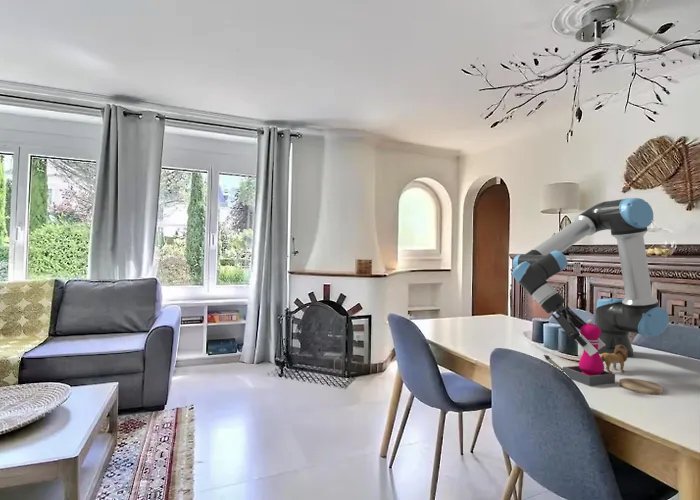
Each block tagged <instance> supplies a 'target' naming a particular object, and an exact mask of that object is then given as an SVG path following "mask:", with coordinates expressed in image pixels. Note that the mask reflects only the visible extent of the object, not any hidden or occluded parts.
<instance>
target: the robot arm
mask: <svg viewBox="0 0 700 500" xmlns="http://www.w3.org/2000/svg"><path fill="white" fill-rule="evenodd" d="M653 220H654V211H653V208H652V206H651V204H650V203H649V202H647V201H646V200H645V199H643V198H641V197H640V198H639V197H628V198H623V199H615V200H607V201H602V202H599V203H597V204H595V205H594V206H591V207H589V208H588V209H587V210H585V211H583V212H581V213H580V214H578V215H577V216H576V217H575V218H574V221H573V222H571V223H570V224H567V225H566V226H565V227H563V228H562V229H561V230H559V231H557V232H556V233H554V234H553V235H552V236H550V237H549V238H547V239H546V240H545V241H543V242H541V243H540V244H538V245H536V246H535V247H534V248H533V249H531V250H529V251H528V252H526V253H525V254H524V253H522V254H518V255H516V256H515V257H514V258H513V260H512V267H513V270H512V272H511V274H512V276H513V278H514V280H515V281H516V282H517V283H518V284H519V285H520V286H521V287H522V288H523V289H524V290H525V291H526V292H527V293H528V294H529V295H530V296H531V297H532V301H534V302H536V303H537V304H539V305H540V307H541V308H542V309H543V310H544V311H545V312H546V313H547V314H551V316H552V318H554V319H555V321H556V322H557V323H558V324H559V325H560V327H561V328H562V330H563V331H564V332H565V334H566V335H567V336H568V337H569V339H570V340H571V342H572V341H576V343H578V345H579V346H580V347H581V348H582V349H583V351H584V350H585V351H586V352H587V353H588V354H589V355H590V356H592V355H593V354H595V353H596V352H599V354H600V355H601V354H602V353H609V354H612V353H614V349H615V346H617V345H623V346H625V347H626V349H627V352H628V353H627V355H628V356H627V358H628V357H632V356H634V348H633V347H632V342H631V339H630V337H629V333H632V334H636V335H641V336H642V337H643V336H644V337H650V338H651V337H658V336H659V335H661V334H663V333H664V332H665V330H666V329H667V328H668V326H669V322H670V317H669V313H668V311H667V310H666V309H665V308H662V307H660V304H659V299H657V298H656V297H655V296H654V295H653V290H652V284H651V277H650V271H649V270H650V269H649V264H648V257H647V251H646V244H645V238H644V236H645V234H646V233H647V232H648V227H649V226H650V225H651V224H652V223H653ZM605 230H606V231H607V230H609V231H610V233H611V236H612V237H613V238H615V239H616V242H617V250H618V256H619V261H620V269H621V270H620V271H621V275H622V276H621V277H622V282H623V288H624V295H625V298H599V299H598V300H596V307H595V325H596V326H598V327H599V328H600V330H601V336H600V337H599V338H598V339H599V340H600V341H599V343H600V344H598V351H597V350H596V348H595V347H594V346H593V345H592V344H591V343H590V342H589V341H588V340H587V339H586V338H585V337H584V336H583V335H581V334H580V329H581V327H582V326H583V325H585V324H588V323H587V322H586V321H584V319H582V318H581V317H580V316H579V315H577V314H576V313H575V312H574V311H573V310H572V309H571V308H570V307H569V306H566V307H565V306H564V305H563V304H564V303H565V302H566V299H565V298H564V297H563V296H562V295H561V294H560V293H558V292H557V290H556V289H555V288H554V287H553V286H552V285H551V283H549V282H548V281H547V280H548V279H550V278H551V277H553V276H555V275H557V274H558V273H561V272H562V271H563V270H564V269H566V268H567V266H568V264H569V263H568V259H567V256H566V255H565V254H564V253H563V252H565V251H566V250H567V249H569V248H571V247H572V246H574V245H575V244H576V243H578V242H579V241H580V240H582V239H584V238H585V237H586V236H593V235H594V234H596V233H598V232H602V231H605Z"/></svg>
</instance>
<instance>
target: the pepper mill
mask: <svg viewBox="0 0 700 500" xmlns="http://www.w3.org/2000/svg"><path fill="white" fill-rule="evenodd" d="M586 323H587V324H585V325H583V326H582V327H581V329H580V330H579V333H580V335H583V336H584V337H585V338H586V339H587V340H588V341H589V342H590V343H591V344H592V345H593V346H594V347H595V348H596V350H597V351H598V344H600V343H599V341H600V340H599V339H598V338H599V337H600V336H601V330H600V328H599V327H598V326H596V324H594V321H593V320H592V319H590V318H589V319H587V322H586ZM600 355H601V354H600V353H599V352H596V353H595V354H593V355H592V356H590V355H589V354H588V353H587V352H586V351H585V350H584V349H583V351H582V355H581V356H580V358H579V362H578V366H579V368H580V369H581V370H582V371H583V372H582V373H583V374H586V375H589V376H592V375H601V373H602V372H603V371H605V365H604V362H603V361H602V359H601V357H600Z"/></svg>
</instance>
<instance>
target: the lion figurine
mask: <svg viewBox="0 0 700 500" xmlns="http://www.w3.org/2000/svg"><path fill="white" fill-rule="evenodd" d="M627 353H628V352H627V349H626V347H625V346H623V345H617V346H615V349H614V353H612V354H609V353H602V354H601V353H600V354H599V355H600V357H601V359H602V361H603V363H604V362H605V366H606V368H605V370H607V372H610V373H613V371H616V370H617V364H619V365H620V366H619V369H620V370H619V371H620V372H623V373H624V372H625V370H624V367H625V362H627V360H628V357H629V356H628V355H627ZM627 356H628V357H627ZM611 364H612V370H613V371H612V370H611V369H610V368H611ZM613 374H614V373H613Z"/></svg>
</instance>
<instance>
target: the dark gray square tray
mask: <svg viewBox="0 0 700 500" xmlns="http://www.w3.org/2000/svg"><path fill="white" fill-rule="evenodd" d="M562 369H563V371H562V372H565V373H566V374H567V375H568V376H569V377H570V378H571V379H570V378H569V379H570V380H572V381H576V382H578V383H580V384H583V385H586V386H589V387H592V386H602V385H603V386H604V385H613V384H615V383H616V373H610V372H608V371H606V370H604V371H603V372H602V373H601V375H592V376H589V375H586V374H583V373H582V372H583V371H582V370H581V369H580V368H579V365H572V366H571V365H569V366H562Z"/></svg>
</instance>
